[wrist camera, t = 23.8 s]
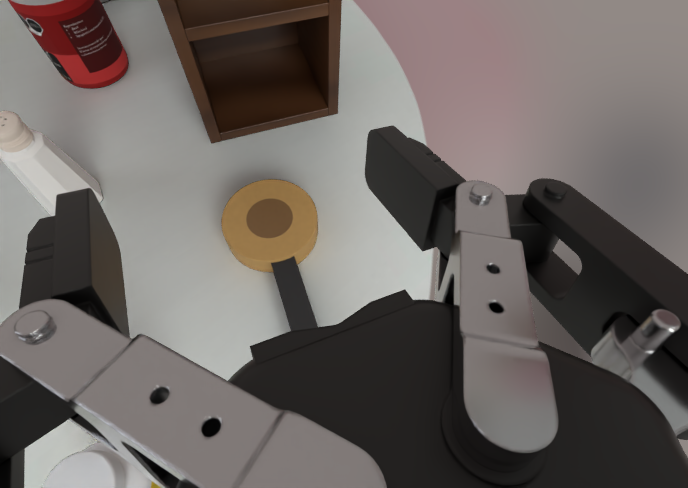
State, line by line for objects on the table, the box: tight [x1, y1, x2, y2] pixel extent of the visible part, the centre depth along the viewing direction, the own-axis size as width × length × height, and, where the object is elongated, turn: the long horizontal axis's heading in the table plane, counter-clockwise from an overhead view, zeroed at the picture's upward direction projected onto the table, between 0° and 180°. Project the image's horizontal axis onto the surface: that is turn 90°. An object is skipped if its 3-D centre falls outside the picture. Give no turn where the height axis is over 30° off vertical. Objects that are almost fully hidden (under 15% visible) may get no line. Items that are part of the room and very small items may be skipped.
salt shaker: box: [0, 111, 103, 216], centre depth 36 cm, size 5×5×11 cm
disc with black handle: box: [222, 179, 318, 331], centre depth 37 cm, size 20×9×3 cm, turn 20°
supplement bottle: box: [42, 442, 161, 488], centre depth 26 cm, size 5×5×10 cm
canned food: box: [8, 0, 128, 88], centre depth 45 cm, size 8×8×11 cm
